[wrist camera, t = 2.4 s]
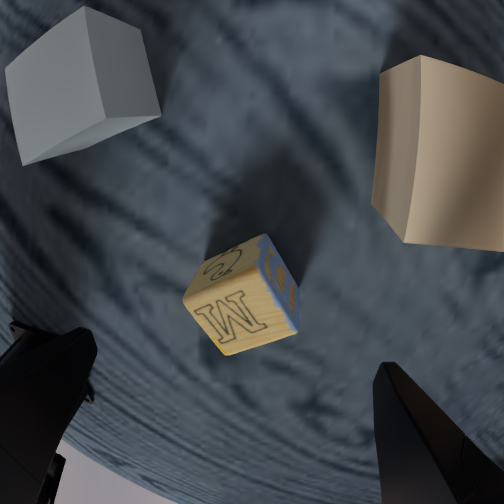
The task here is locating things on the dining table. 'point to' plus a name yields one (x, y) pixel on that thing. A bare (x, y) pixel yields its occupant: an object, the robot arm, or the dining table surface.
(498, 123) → the beech block
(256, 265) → the alphabet block
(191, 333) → the dining table surface
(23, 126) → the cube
